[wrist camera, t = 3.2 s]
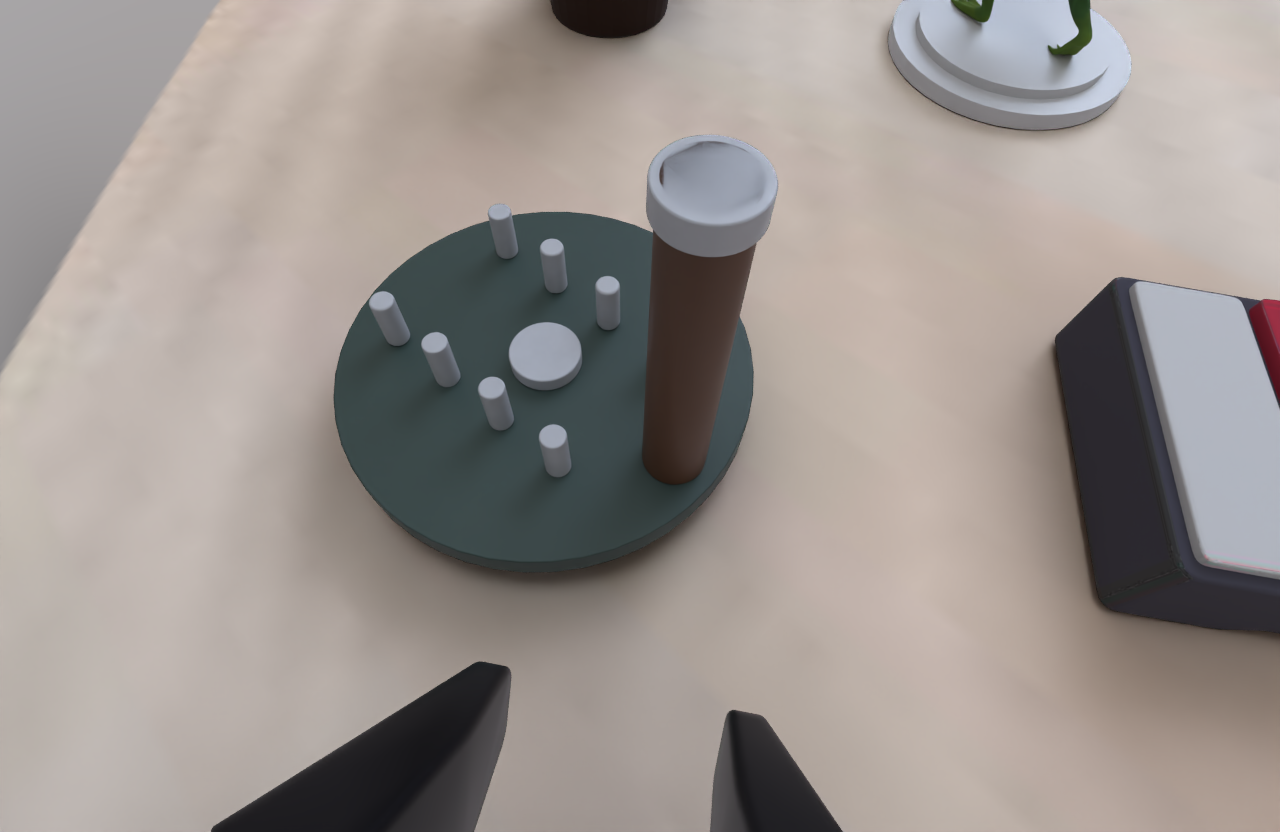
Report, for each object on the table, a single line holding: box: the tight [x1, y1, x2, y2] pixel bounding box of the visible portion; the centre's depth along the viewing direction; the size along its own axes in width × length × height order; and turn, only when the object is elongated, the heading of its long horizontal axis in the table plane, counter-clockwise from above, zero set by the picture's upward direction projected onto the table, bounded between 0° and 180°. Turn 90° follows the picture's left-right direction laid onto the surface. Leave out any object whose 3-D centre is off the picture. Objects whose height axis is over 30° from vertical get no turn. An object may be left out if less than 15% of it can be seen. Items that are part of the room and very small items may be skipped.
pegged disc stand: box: [334, 135, 778, 572], centre depth 19 cm, size 14×14×12 cm
